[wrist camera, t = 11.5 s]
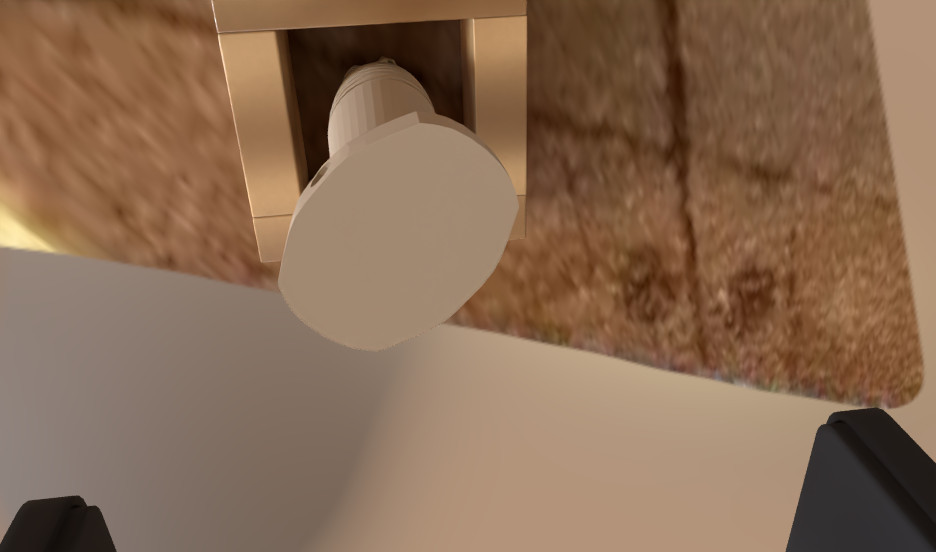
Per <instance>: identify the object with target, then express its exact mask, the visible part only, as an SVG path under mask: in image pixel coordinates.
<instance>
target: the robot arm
mask: <svg viewBox="0 0 936 552" xmlns="http://www.w3.org/2000/svg"><path fill="white" fill-rule="evenodd" d="M0 552H116V549H115V546H114V544H113V541H112V538H111V536H110V533H109V531H108V528H107V526H106V523H105V520H104V518H103V515H102V513H101V511H100V509H99V508H98V507H97V506H87V505H86V503H85V501H84V499H83V498H81V497H80V496H68V497H58V498H49V499H40V500H31V501H27V502H26V503H25V504H23V505H22V506H21V508H20V509H19V511H18V512H17V514H16V516H15V518H14V520H13V521H12V523H11V525H10V527H9V529H8V531H7V532H6V534H5V536H4V538H3V540H2V542H1V544H0ZM786 552H936V463H935V462H934V461H933V460H932V459H931V458H930V457H929V456H928V455H927V454H926V453H925V452H924V451H923V450H922V449H921V447H920V446H919V445H918V444H917V443H916V442H915V441H914V440H913V439H912V438H911V437H910V436H909V435H908V434H907V433H906V432H905V431H904V430H903V429H902V428H901V427H900V426H899V425H898V424H897V423H896V422H895V421H894V420H893V418H892V417H891V416H890V415H888V414H887V413H886V412H885V411H884V410H882V409H879V408H867V409H858V410H849V411H840V412H834V413H833V414H831V415H830V416H829V418H828V421H827V423H826V424H823V425H821V426H820V427H819V428H818V430H817V433H816V437H815V441H814V445H813V448H812V452H811V456H810V460H809V464H808V467H807V471H806V475H805V479H804V483H803V487H802V491H801V494H800V498H799V502H798V506H797V510H796V514H795V518H794V521H793V525H792V529H791V533H790V537H789V541H788V544H787V548H786Z"/></svg>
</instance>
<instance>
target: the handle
mask: <svg viewBox="0 0 936 552" xmlns="http://www.w3.org/2000/svg"><path fill="white" fill-rule="evenodd" d="M328 143H329V152H330V159H329V160H328V161H326V162H325V163H324V164H323V165H322V167H321V168H320V170H319V171H318V172H317V174H316V175H315V176H314V178H313V179H312V180H311V182H310V183H309V184H308V186H307V187H306V188H305V190H304V191H303V193H302V194H301V196H300V197H299V199H298V201H297V204H296V207H295V210H294V214H293V217H292V220H291V224H290V228H289V232H288V236H287V240H286V245H285V249H284V254H283V259H282V264H281V269H280V274H279V279H278V286H279V288H280V291H281V293H282V296H283V297H284V299H285V301H286V302H287V304H288V306H289V307H290V309H291V310H292V311H293V312H294V313H295V314H296V315H297V316H298V317H299V318H300V319H301V320H302V321H303V322H304V323H305V324H307V325H308V326H309V327H311V328H312V329H313V330H314V331H316V332H317V333H319V334H321V335H322V336H324V337H326V338H328V339H330V340H332V341H334V342H336V343H339V344H342V345H344V346H347V347H350V348H355V349H360V350H369V351H381V350H384V349H386V348H389V347H391V346H394V345H396V344H399V343H401V342H404V341H406V340H409V339H411V338H413V337H416V336H418V335H420V334H422V333H425V332H427V331H429V330H431V329H432V328H434V327H436V326H438V325H440V324H442V323H443V322H444V321H445V320H447V319H448V318H449V317H450V316H451V315H453V314H454V313H455V312H456V311H457V310H458V309H459V308H460V307H461V306H462V305H463V304H464V303H465V302H466V301H467V300H468V299H469V298H470V297H471V296H472V295H473V294H474V293H475V292H476V291H477V290H478V289H479V288H480V287H481V286H482V285H483V284H484V282H485V281H486V280H487V279H488V277H489V276H490V275H491V274H492V273H493V271H494V270H495V268H496V266H497V264H498V262H499V260H500V258H501V256H502V254H503V251H504V249H505V246H506V243H507V241H508V238H509V235H510V232H511V230H512V227H513V224H514V221H515V218H516V215H517V212H518V209H519V204H518V199H517V194H516V191H515V189H514V186H513V183H512V181H511V178H510V177H509V175H508V173H507V171H506V169H505V168H504V166H503V165H502V163H501V162H500V160H499V159H498V157H497V156H496V154H495V153H494V152H493V151H492V150H491V149H490V148H489V147H488V146H487V145H486V144H485V143H484V141H483V140H482V139H481V138H480V137H479V136H477V135H476V134H474V133H473V132H472V131H470V130H469V129H468V128H466V127H465V126H464V125H462V124H460V123H458V122H456V121H454V120H452V119H450V118H448V117H445V116H441V115H437V114H436V113H435V110H434V108H433V105H432V103H431V100H430V98H429V96H428V94H427V93H426V91H425V90H424V88H423V87H422V86H421V84H420V83H419V82H418V81H417V80H416V79H415V77H414V76H412V75H411V74H410V73H409V72H407V71H406V70H405V69H403V68H401V67H399V66H397V65H396V63H395V61H394V60H393V59H391V58H388V57H381V58H380V59H379V60H378V61H376V62H373V63H368V64H365V65H362V66H358V65H354V66H353V67H351V68H350V69H349V70H348V71H347V72H346V74H345V76H344V78H343V83H342V84H341V86H340V87H339V89H338V91H337V94H336V96H335V99H334V102H333V105H332V108H331V112H330V119H329V126H328Z"/></svg>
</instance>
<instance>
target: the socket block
mask: <svg viewBox="0 0 936 552" xmlns="http://www.w3.org/2000/svg"><path fill="white" fill-rule="evenodd" d="M211 3H212V8H213V13H214V18H215V24H216V29H217V32H218V33H219V34H218V39H219V44H220V50H221V55H222V60H223V65H224V71H225V76H226V81H227V86H228V92H229V97H230V102H231V107H232V113H233V118H234V123H235V128H236V134H237V139H238V144H239V149H240V155H241V160H242V165H243V170H244V176H245V181H246V186H247V191H248V197H249V202H250V207H251V212H252V216H253V223H254V229H255V234H256V239H257V244H258V250H259V255H260V260H261V262H262V263H263V262H273V261H282V259H283V254H284V249H285V245H286V240H287V236H288V232H289V228H290V224H291V220H292V217H293V214H294V210H295V207H296V204H297V201H298V199H299V197H300V196H301V194H302V193H303V191H304V190H305V188H306V187H307V186H308V184H309V183H310V182H311V180H312V179H308V178H309V176H308V170H307V163H306V156H305V149H304V142H303V135H302V129H301V122H300V115H299V108H298V101H297V94H296V88H295V81H294V74H293V67H292V60H291V53H290V47H289V40H288V33H287V29H303V28H319V27H336V26H353V25H370V24H387V23H404V22H421V21H438V20H455V19H460V38H461V64H462V91H463V118H464V126H465V127H466V128H468V129H469V130H470V131H472V132H473V133H474V134H476V135H477V136H479V137H480V138H481V139H482V140H483V141H484V143H485V144H486V145H487V146H488V147H489V148H490V149H491V150H492V151H493V152H494V153H495V154H496V156H497V157H498V159H499V160H500V162H501V163H502V165H503V166H504V168H505V169H506V171H507V173H508V175H509V177H510V178H511V181H512V183H513V186H514V189H515V191H516V194H517V199H518V204H519V209H518V212H517V215H516V218H515V221H514V224H513V227H512V230H511V232H510V235H509V238H508V240H514V239H525V238H526V171H527V16H526V14H527V0H211Z"/></svg>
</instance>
